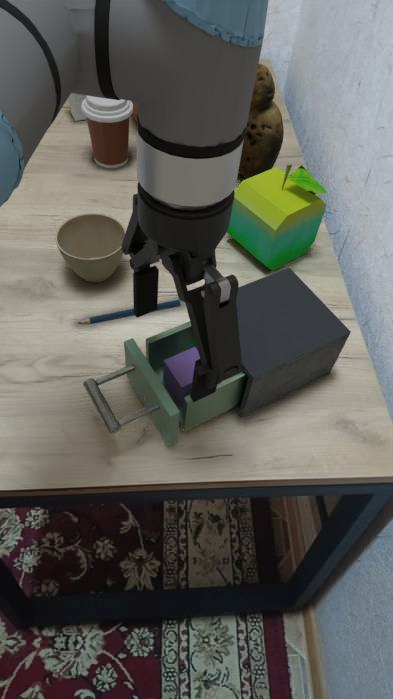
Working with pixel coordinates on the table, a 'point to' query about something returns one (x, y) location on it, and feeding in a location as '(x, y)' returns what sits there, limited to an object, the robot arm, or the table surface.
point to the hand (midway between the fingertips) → (172, 350)
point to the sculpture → (262, 128)
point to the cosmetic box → (76, 106)
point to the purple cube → (180, 373)
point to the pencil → (127, 313)
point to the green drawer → (164, 387)
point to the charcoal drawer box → (284, 338)
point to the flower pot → (91, 245)
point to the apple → (277, 215)
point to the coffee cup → (108, 129)
